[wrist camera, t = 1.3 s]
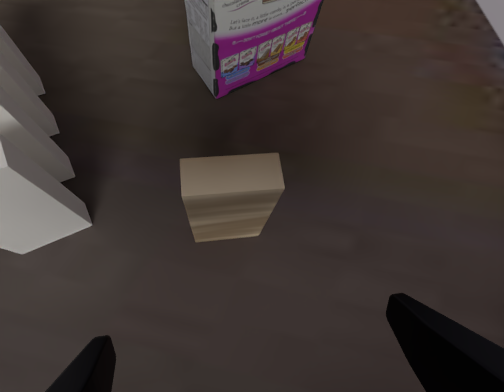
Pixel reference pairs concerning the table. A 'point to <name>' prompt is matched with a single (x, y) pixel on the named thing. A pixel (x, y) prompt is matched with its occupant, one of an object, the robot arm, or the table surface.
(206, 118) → the table surface
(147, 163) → the table surface
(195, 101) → the table surface
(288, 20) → the candy bar box
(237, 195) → the domino
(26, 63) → the domino
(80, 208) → the domino
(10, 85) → the domino
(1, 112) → the domino
